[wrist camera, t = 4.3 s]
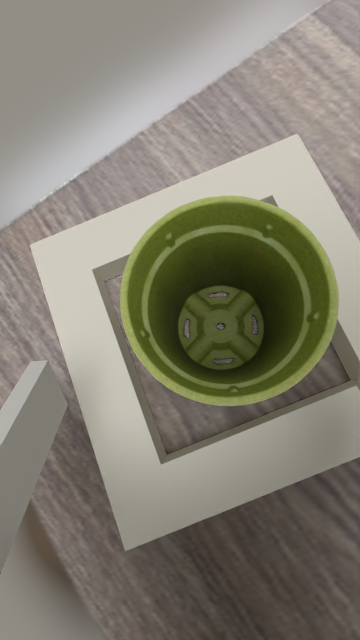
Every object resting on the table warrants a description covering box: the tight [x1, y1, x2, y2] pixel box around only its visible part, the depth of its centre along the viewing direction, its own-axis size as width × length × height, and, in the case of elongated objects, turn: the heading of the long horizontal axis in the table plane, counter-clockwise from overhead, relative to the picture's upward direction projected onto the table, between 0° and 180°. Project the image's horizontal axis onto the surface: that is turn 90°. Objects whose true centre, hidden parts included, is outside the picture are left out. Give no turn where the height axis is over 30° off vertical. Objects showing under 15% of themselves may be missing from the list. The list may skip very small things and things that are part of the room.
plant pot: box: [120, 196, 339, 406], centre depth 18 cm, size 9×9×9 cm
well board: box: [30, 134, 360, 551], centre depth 21 cm, size 20×20×2 cm
